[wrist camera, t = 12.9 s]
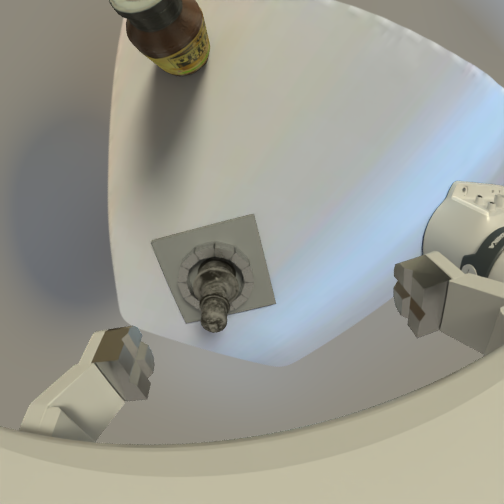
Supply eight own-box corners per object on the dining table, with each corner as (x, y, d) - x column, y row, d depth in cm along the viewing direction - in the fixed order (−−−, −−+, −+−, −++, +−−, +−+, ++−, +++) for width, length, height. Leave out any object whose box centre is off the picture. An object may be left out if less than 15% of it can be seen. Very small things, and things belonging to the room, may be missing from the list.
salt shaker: (223, 298, 42) (222, 359, 32) (187, 279, 41) (175, 337, 30) (246, 268, 40) (253, 326, 30) (209, 247, 39) (202, 300, 28)
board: (253, 213, 38) (254, 215, 37) (275, 301, 44) (275, 303, 43) (151, 240, 38) (150, 242, 38) (186, 320, 45) (185, 323, 44)
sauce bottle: (195, 84, 30) (152, 50, 12) (150, 66, 29) (68, 26, 11) (221, 40, 28) (211, -36, 10) (175, 23, 26) (123, -54, 8)
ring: (242, 233, 38) (242, 240, 36) (259, 295, 43) (260, 303, 41) (170, 252, 39) (167, 259, 37) (193, 310, 43) (192, 318, 41)
